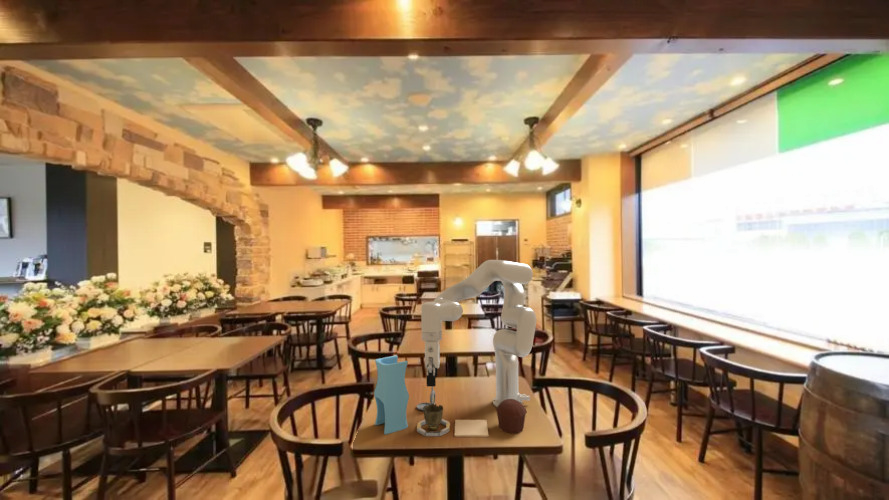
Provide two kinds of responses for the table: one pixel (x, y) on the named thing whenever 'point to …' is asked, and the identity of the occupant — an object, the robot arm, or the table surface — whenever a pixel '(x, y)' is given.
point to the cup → (433, 415)
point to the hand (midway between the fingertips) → (432, 381)
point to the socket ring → (433, 433)
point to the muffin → (511, 416)
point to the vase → (391, 394)
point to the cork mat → (471, 428)
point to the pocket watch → (432, 400)
